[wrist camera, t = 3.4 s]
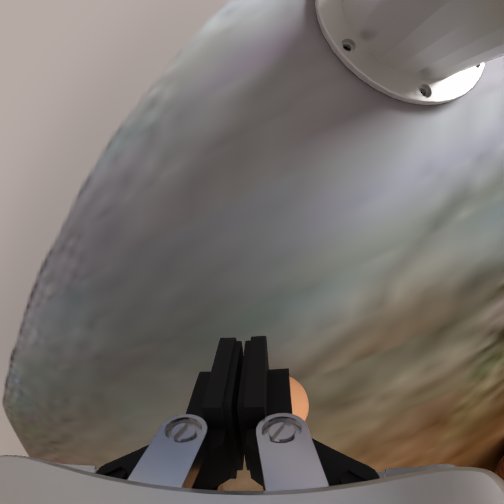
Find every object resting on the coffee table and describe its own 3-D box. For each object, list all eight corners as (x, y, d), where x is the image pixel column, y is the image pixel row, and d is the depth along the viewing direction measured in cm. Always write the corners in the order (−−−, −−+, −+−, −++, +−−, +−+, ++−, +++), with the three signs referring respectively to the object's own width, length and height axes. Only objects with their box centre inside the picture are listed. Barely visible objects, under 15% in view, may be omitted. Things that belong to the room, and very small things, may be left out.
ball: (237, 360, 23) (229, 405, 18) (305, 357, 23) (312, 401, 18) (244, 408, 24) (238, 453, 19) (305, 406, 24) (310, 451, 19)
